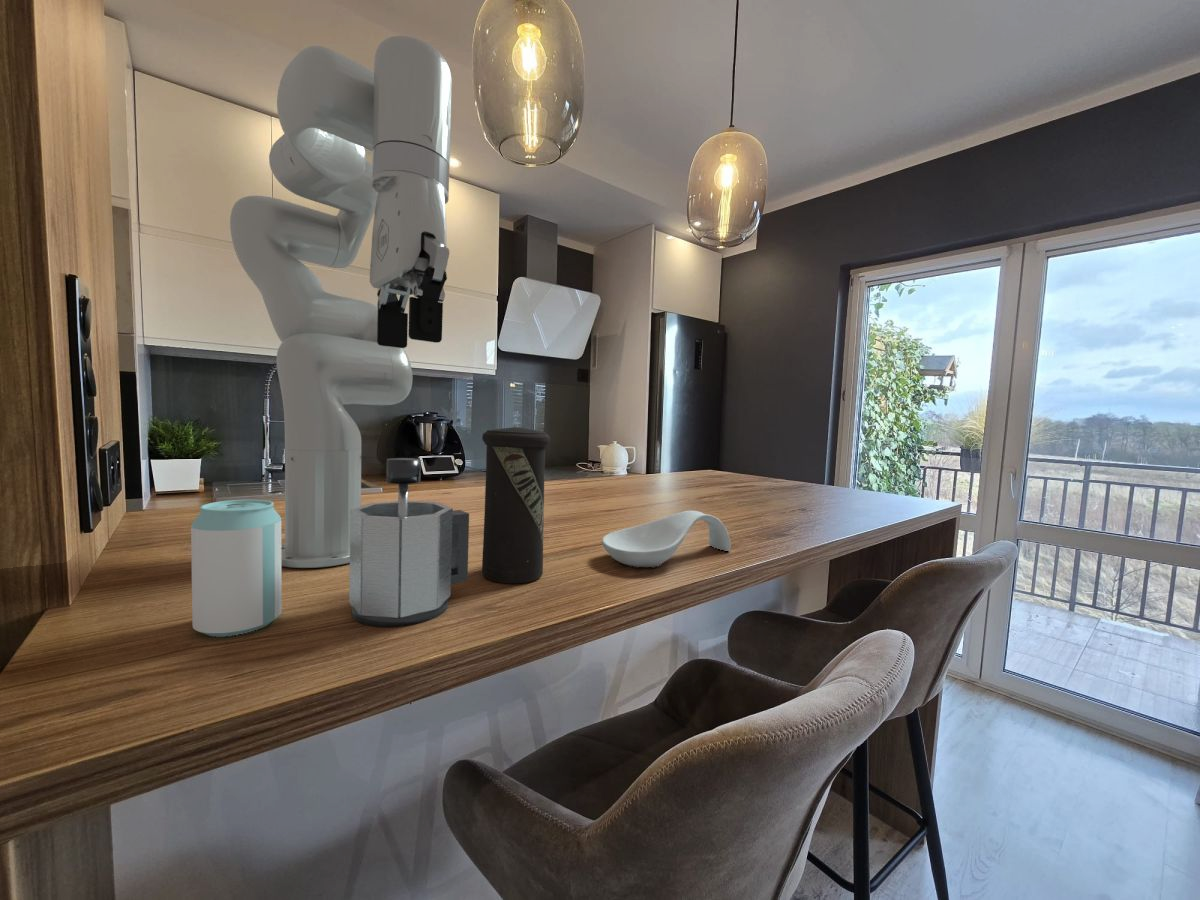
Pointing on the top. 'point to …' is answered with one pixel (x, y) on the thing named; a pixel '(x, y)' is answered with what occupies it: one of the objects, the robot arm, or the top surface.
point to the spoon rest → (661, 539)
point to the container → (514, 505)
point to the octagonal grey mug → (405, 561)
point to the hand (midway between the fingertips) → (407, 343)
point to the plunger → (403, 479)
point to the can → (235, 567)
